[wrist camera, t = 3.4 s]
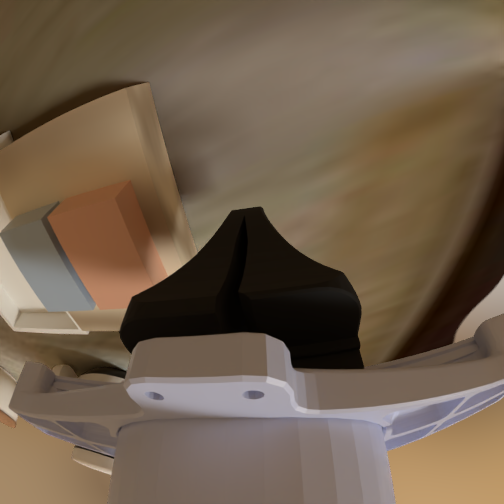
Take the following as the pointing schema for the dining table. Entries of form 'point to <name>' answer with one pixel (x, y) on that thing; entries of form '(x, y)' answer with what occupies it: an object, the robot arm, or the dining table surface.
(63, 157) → the birch plate
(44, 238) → the slate-blue tile
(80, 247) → the terracotta tile
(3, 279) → the box
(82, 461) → the spread jar
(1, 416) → the lidded bowl
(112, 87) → the dining table surface
